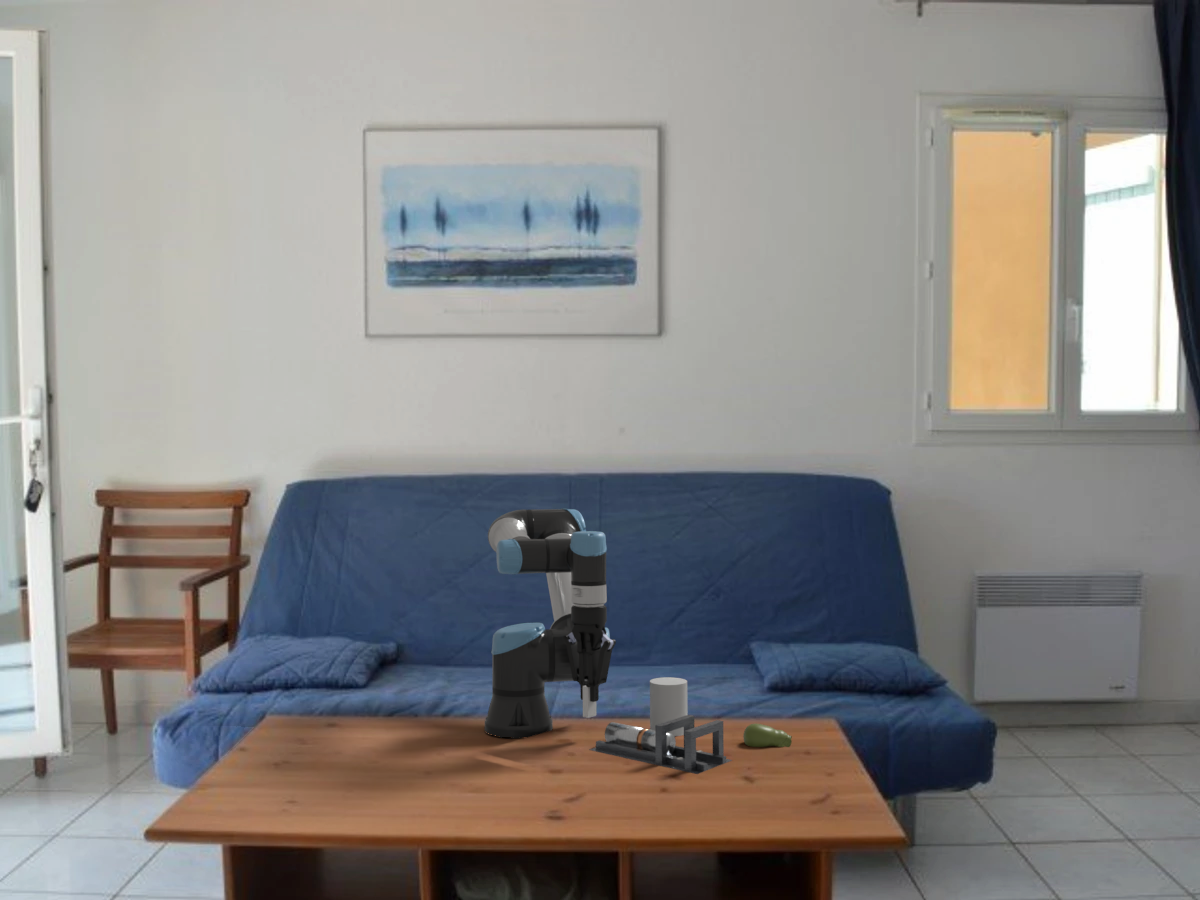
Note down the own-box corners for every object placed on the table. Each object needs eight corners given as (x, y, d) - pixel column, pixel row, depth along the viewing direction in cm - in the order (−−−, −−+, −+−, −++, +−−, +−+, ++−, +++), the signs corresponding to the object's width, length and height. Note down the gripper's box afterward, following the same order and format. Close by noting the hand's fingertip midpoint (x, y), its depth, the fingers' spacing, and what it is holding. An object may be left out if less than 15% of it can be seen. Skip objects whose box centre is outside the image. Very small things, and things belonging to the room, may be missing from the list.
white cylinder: (687, 731, 241) (687, 677, 241) (687, 741, 233) (686, 685, 233) (651, 731, 242) (650, 677, 242) (649, 740, 234) (648, 684, 234)
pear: (744, 718, 230) (790, 726, 230) (739, 743, 230) (786, 751, 230) (747, 725, 224) (795, 733, 224) (743, 750, 224) (791, 758, 224)
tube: (603, 742, 226) (606, 721, 227) (615, 744, 229) (619, 723, 230) (660, 755, 216) (664, 732, 217) (673, 756, 220) (677, 734, 221)
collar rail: (588, 754, 223) (588, 712, 223) (625, 742, 233) (625, 702, 233) (697, 779, 206) (697, 734, 206) (732, 765, 215) (732, 722, 215)
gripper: (554, 604, 233) (554, 715, 232) (600, 608, 224) (601, 724, 224) (577, 600, 238) (578, 708, 238) (623, 605, 230) (624, 717, 230)
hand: (589, 716), depth 231 cm, fingers closed
